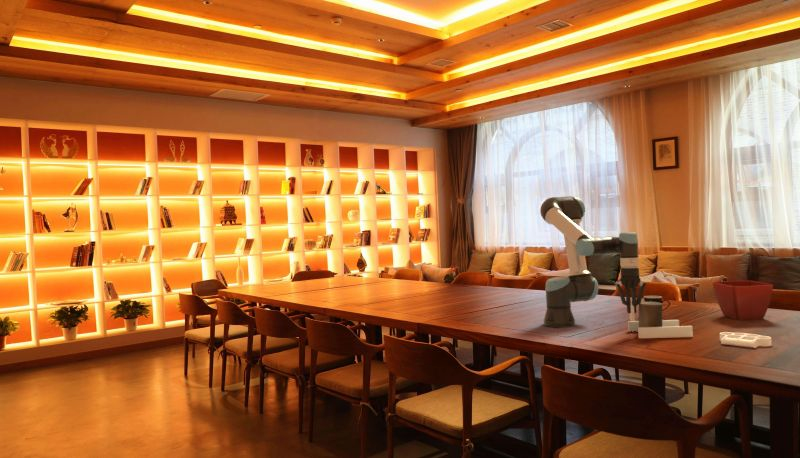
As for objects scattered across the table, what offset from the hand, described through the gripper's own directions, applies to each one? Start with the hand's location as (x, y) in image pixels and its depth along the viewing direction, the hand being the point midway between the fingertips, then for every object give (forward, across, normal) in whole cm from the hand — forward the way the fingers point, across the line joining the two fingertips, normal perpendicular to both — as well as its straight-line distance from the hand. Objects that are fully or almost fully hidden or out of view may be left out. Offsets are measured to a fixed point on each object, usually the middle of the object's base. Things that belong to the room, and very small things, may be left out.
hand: (632, 320), depth 244 cm
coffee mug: (+6, +24, +42) cm, 49 cm away
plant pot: (+6, +62, +33) cm, 71 cm away
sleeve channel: (+6, +12, +1) cm, 13 cm away
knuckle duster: (+7, +36, -20) cm, 42 cm away
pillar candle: (+6, +8, +1) cm, 10 cm away
